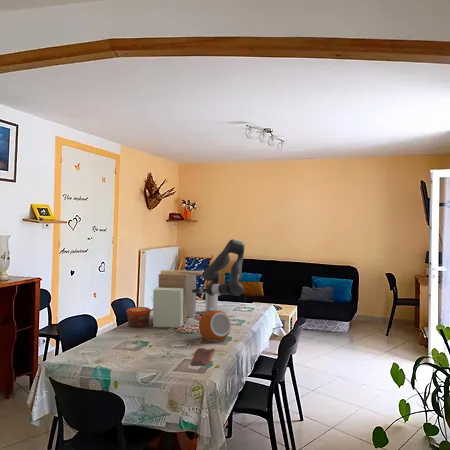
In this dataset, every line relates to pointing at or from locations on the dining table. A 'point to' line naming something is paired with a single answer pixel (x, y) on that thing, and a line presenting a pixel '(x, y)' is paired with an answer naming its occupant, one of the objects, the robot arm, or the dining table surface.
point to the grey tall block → (191, 296)
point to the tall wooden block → (175, 282)
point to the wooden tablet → (202, 357)
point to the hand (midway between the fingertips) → (196, 291)
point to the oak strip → (180, 272)
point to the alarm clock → (214, 325)
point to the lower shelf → (167, 307)
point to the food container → (138, 317)
